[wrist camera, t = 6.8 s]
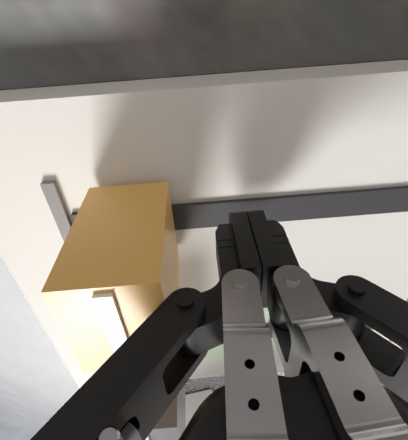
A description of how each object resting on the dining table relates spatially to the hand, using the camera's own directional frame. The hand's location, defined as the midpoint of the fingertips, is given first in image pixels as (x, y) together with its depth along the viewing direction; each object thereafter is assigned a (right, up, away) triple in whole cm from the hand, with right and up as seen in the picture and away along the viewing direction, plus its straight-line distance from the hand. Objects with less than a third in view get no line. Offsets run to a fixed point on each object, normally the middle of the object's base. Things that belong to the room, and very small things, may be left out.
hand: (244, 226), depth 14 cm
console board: (+1, -2, +6) cm, 7 cm away
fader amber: (-5, 0, +1) cm, 5 cm away
